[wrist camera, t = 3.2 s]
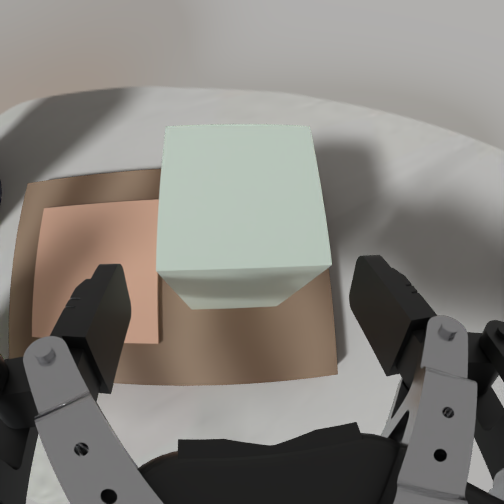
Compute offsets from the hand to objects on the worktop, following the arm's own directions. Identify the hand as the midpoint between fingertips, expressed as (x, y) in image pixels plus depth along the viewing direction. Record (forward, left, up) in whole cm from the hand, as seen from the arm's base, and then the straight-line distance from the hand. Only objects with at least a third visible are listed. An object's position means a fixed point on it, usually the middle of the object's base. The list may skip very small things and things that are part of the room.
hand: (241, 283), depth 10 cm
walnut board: (+5, -3, -10) cm, 11 cm away
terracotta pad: (+9, -3, -8) cm, 12 cm away
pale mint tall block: (0, -3, -8) cm, 9 cm away
